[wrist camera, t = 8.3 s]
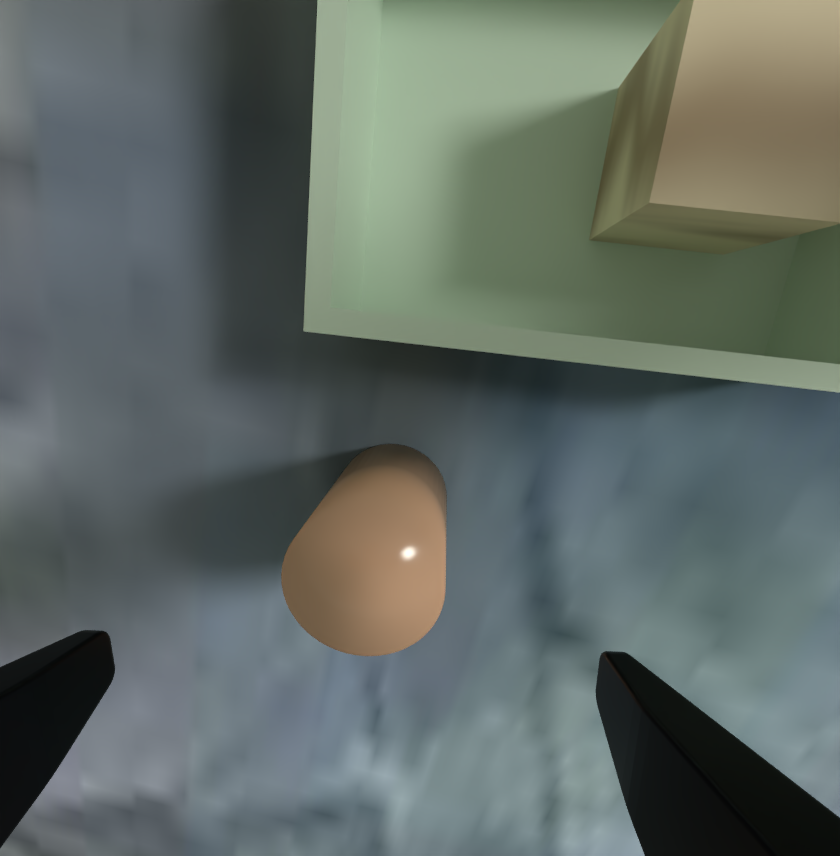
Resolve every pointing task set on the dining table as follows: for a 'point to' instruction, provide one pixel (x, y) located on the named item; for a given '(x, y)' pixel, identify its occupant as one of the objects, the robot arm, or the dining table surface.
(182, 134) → the dining table surface
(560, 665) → the dining table surface
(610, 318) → the tote
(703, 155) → the maple cube
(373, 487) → the tan capsule
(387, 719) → the dining table surface
